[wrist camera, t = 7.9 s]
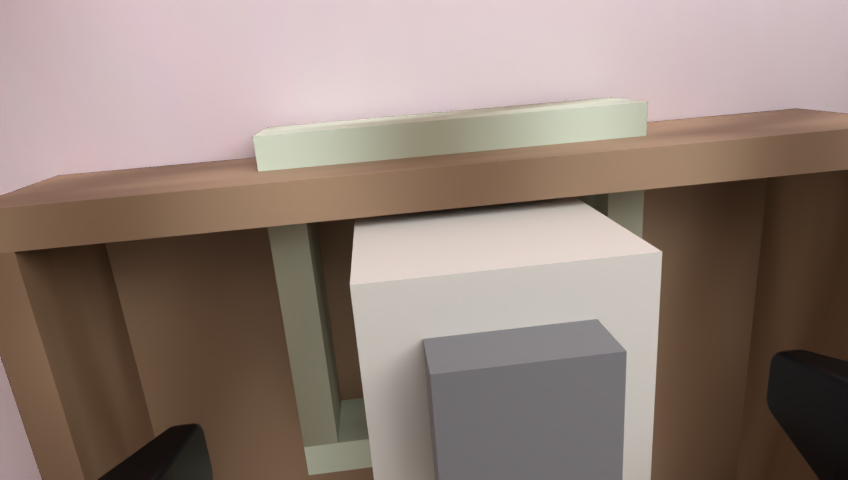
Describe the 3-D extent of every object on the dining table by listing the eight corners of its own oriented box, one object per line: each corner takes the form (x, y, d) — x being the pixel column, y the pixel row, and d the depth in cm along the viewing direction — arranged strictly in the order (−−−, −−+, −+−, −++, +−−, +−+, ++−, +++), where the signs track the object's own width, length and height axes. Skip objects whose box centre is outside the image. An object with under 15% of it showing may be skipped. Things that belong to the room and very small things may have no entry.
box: (800, 79, 14) (933, 83, 11) (739, 593, 19) (818, 704, 16) (49, 144, 13) (-62, 172, 10) (194, 675, 18) (155, 815, 15)
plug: (540, 175, 14) (700, 276, 7) (543, 340, 15) (680, 553, 9) (357, 193, 14) (346, 315, 7) (376, 360, 15) (383, 597, 8)
